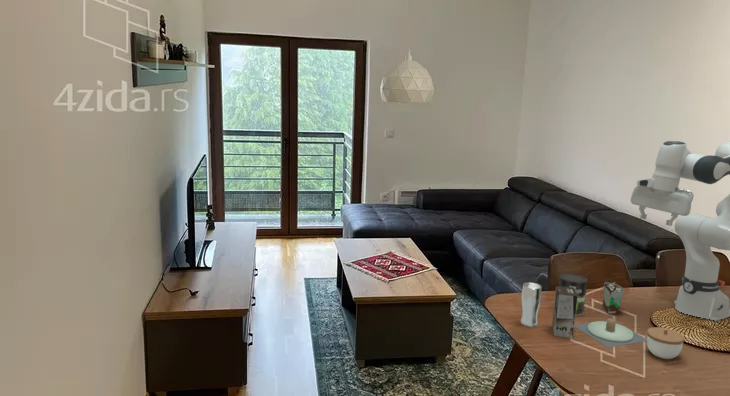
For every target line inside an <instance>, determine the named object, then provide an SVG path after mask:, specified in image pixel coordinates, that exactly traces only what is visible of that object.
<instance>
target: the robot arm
mask: <svg viewBox="0 0 730 396" xmlns="http://www.w3.org/2000/svg"><path fill="white" fill-rule="evenodd" d="M726 176H730V140H728V141H725V142H722V144H720V145H718V146H717V148H716V150H715V153H714V155H708V154H701V153H694V152H692V151H690V150H689V148H687V144H686V142H683V141H679V140H678V141H677V140H669V141H668V140H667V141H665V142H662V144H661V146H660V147H659V150H658V152H657V156H656V160H655V170H654V171H653V173H652V177H651V178H643V179H638V180H637V181H636V185H637V186H635V187H634V189H633V191H632V194H631V197H630V203H631V204H632V205H635V206H638V210H639V212H640V215H639V216H640V217H639V218H640V219H642V220H646V219H647V216H648V214H647V213H645V210H646V208H648V209H653V210H657V211H661V212H665V213H671V214H670V216H671V218H670V219H666V220H665V221H666V223H665V225H666V226H670V227H671V226H673V223H674V231H675V233H676V235H678V237H679V238H680V240H681V241H682V243H683V246H684V250H685V254H686V255H685V256H686V257H685V258H686V260H685V268H684V269H685V270H684V274H683V276H682V280H681V285H680V286H679V290H678V293H677V296H676V300H675V299H674V301H673V302H674V308H675V310H676V311H677V312H679V313H681V312H682V313H681V314H683V313H684V315H686V314H688V315H687V316H689V315H693V316H697V317H701V318H700V319H703V318H706V319H705V320H709V319H710V320H709V321H713V320H714V322H719V321H721V319H722V320H724V319H727V318H729V317H730V298H729V297H728V295H726V294H725V293H724V292H722V290H721V289H720V286H721V287H725V285H726V281H723V280H721V279H718V278H719V273H720V266H721V263H720V260H719V258H718V257H717V256H716V255H715V254H714V253H713V251H712V249H711V248H713V249H717V250H722V251H730V193H729V194H728V195H726V197H724V198H723V199H721V200H720V201H719V202H718V203H717V205H716V207H715V214H716V217H711V216H707V215H703V214H698V213H691V209H692V202H693V200H694V193H693V192H692V191H691V190H690V189H685V188H681V187H680V188H679V185H680V181H681V179H685V180H690V181H696V182H699V183H703V184H706V185H713V184H717V182H719V181H721V180H722V179H723V178H725V177H726ZM674 221H675V222H674Z"/></svg>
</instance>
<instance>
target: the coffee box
mask: <svg viewBox="0 0 730 396" xmlns="http://www.w3.org/2000/svg"><path fill="white" fill-rule="evenodd" d="M554 292H555V293H554V302H553V313H552V314H553V316H552V324H551V325H552V332H553V335H554V336H555V337H560V338H568V339H569V338H570V339H573V338H574V337H573V336H574V329H575V327H574V325H575V320H576V315H575V313H576V304H577V297H578V296H577V294H576V292H575V289H574V288H573V287H560V286H559V285H558V286H555V291H554Z"/></svg>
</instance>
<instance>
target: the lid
mask: <svg viewBox="0 0 730 396" xmlns="http://www.w3.org/2000/svg"><path fill="white" fill-rule="evenodd" d="M606 320H607V322H605V321H604V320H598V321H591V322H589V323H590V324H588V331H589V333H590V334H592V335H593V336H595V337H597V338H600V339H603V340H606V341H611V342H628V341H631V340H632V339H633V332H634V331H633V330H631V329H629V328H628V327H626V326H624V325H622V324H620V325H619V323H618V324H616V323H617V319H616V318H615V319H614V318H612V317H608V318H606ZM632 331H633V332H632Z"/></svg>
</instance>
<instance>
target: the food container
mask: <svg viewBox="0 0 730 396" xmlns="http://www.w3.org/2000/svg"><path fill="white" fill-rule="evenodd" d="M624 296H625V290H624V288H623V287H622V286H621V285H619V284H616V283H613V282H607V281H604V284H603V297H602V306H603V307H604V309H605V311H606V312H607V314H608V315H616V314H618V313H620V309H621V306H622V305H621V304H622V299H623V297H624Z"/></svg>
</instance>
